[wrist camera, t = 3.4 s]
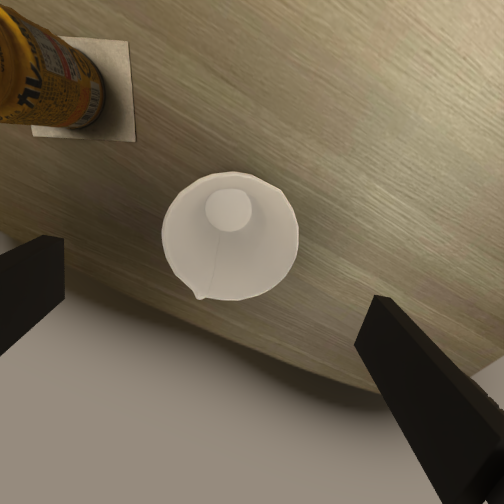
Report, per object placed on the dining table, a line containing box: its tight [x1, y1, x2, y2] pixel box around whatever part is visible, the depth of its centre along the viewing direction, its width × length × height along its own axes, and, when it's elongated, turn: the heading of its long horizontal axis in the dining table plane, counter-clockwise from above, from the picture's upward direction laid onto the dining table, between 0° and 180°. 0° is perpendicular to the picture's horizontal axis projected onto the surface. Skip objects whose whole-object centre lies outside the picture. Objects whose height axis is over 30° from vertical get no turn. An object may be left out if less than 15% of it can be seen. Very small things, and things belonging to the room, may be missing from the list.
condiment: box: [0, 4, 136, 142], centre depth 18 cm, size 7×8×12 cm
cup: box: [161, 171, 299, 300], centre depth 23 cm, size 9×9×10 cm
